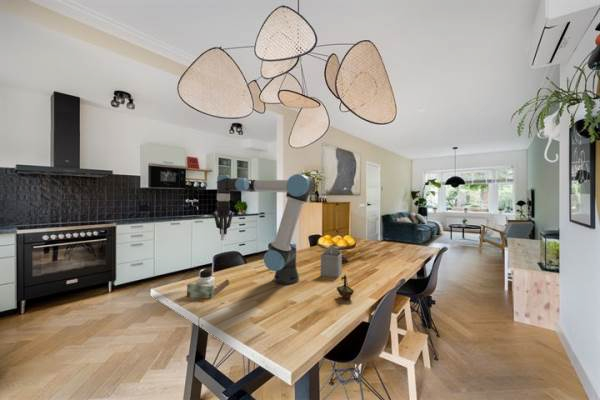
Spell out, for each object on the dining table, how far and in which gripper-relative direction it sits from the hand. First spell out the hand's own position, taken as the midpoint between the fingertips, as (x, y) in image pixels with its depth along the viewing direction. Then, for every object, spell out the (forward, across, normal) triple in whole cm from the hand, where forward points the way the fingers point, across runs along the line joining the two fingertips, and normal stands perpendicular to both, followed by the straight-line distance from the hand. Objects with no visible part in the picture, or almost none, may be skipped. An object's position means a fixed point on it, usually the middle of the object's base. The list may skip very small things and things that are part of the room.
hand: (223, 239), depth 144 cm
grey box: (+25, -67, -19) cm, 74 cm away
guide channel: (+24, 0, +16) cm, 29 cm away
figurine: (+25, -72, +15) cm, 78 cm away
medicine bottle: (+25, 0, +19) cm, 31 cm away
